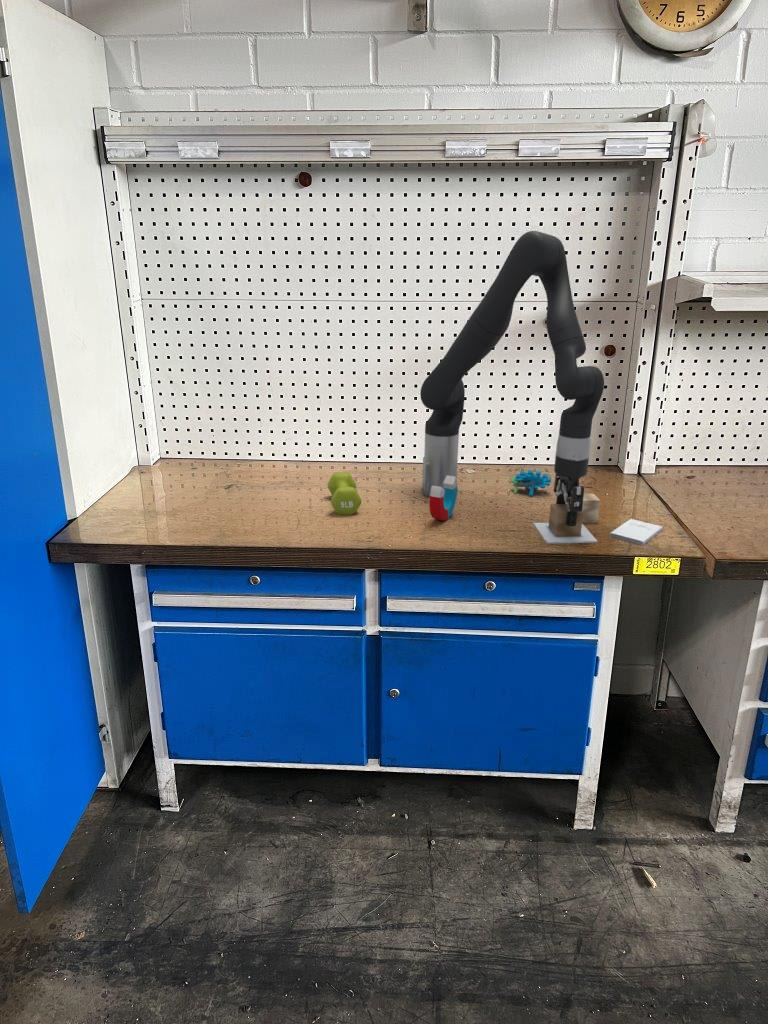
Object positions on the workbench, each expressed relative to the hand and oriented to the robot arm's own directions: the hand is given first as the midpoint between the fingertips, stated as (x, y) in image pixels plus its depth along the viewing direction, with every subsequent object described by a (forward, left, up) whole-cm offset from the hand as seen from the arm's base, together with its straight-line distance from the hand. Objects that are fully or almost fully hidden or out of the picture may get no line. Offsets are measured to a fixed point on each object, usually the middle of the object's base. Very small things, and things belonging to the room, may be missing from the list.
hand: (565, 519), depth 166 cm
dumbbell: (-53, +22, -4) cm, 57 cm away
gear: (0, +30, -4) cm, 30 cm away
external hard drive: (+18, -1, -5) cm, 18 cm away
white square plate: (0, 0, -4) cm, 4 cm away
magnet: (-28, +11, -4) cm, 30 cm away
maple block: (+8, +9, -4) cm, 13 cm away
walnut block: (0, 0, -3) cm, 3 cm away
